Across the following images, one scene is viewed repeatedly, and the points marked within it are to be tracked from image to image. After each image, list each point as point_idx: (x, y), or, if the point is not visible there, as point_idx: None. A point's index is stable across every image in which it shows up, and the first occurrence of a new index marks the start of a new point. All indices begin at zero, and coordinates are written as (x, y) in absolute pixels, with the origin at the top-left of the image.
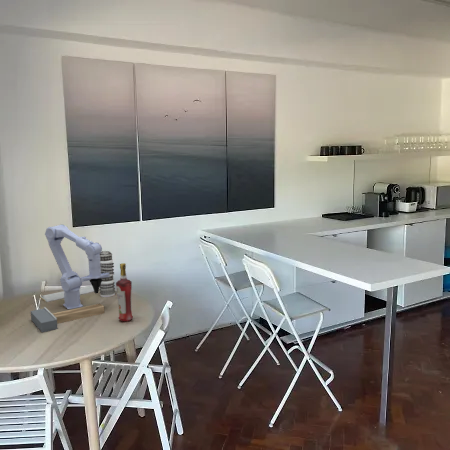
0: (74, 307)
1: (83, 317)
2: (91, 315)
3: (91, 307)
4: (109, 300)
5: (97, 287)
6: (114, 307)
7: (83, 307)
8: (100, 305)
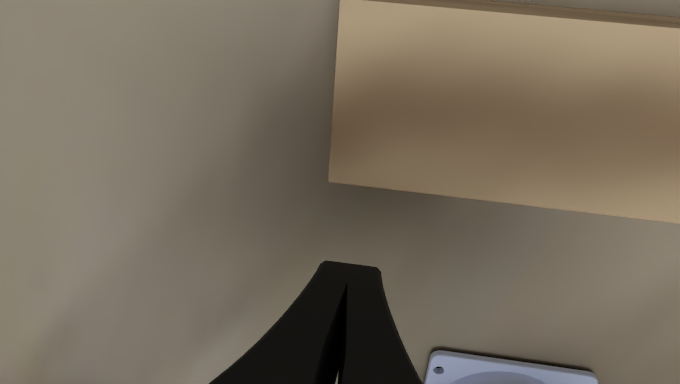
0: (528, 371)
1: (668, 17)
2: (546, 7)
3: (512, 104)
4: (144, 325)
5: (323, 346)
6: (163, 99)
7: (594, 190)
8: (359, 92)
